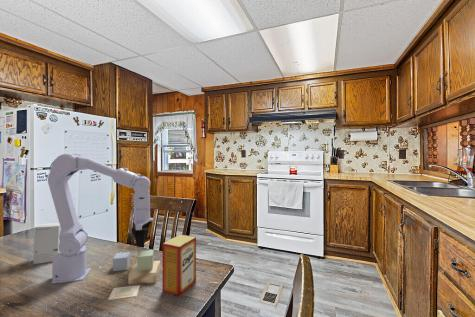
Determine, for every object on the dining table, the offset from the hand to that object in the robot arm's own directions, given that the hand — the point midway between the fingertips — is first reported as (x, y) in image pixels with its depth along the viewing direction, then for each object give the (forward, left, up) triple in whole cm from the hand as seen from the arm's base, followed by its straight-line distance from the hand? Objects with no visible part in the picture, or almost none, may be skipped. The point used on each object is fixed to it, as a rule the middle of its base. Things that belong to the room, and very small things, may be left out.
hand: (142, 242), depth 90 cm
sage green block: (+2, -7, -6) cm, 10 cm away
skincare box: (-39, +16, -10) cm, 43 cm away
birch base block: (+2, -7, -10) cm, 13 cm away
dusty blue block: (-8, +2, -10) cm, 13 cm away
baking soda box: (+14, -16, -10) cm, 24 cm away
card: (-3, -16, -10) cm, 19 cm away
